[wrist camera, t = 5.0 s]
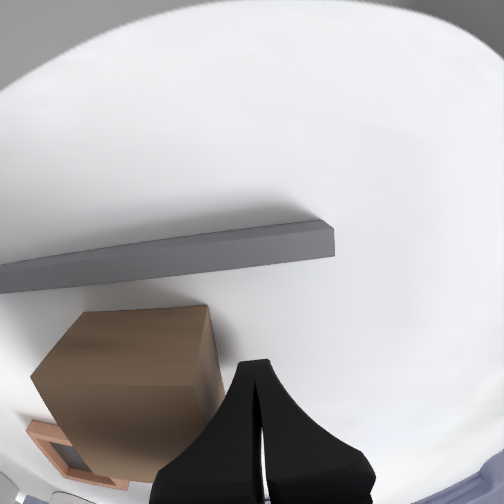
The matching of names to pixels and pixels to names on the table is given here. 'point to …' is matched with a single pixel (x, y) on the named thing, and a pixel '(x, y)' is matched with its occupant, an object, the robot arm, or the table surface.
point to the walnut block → (133, 387)
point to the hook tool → (173, 257)
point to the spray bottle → (7, 490)
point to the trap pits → (67, 456)
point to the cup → (67, 499)
